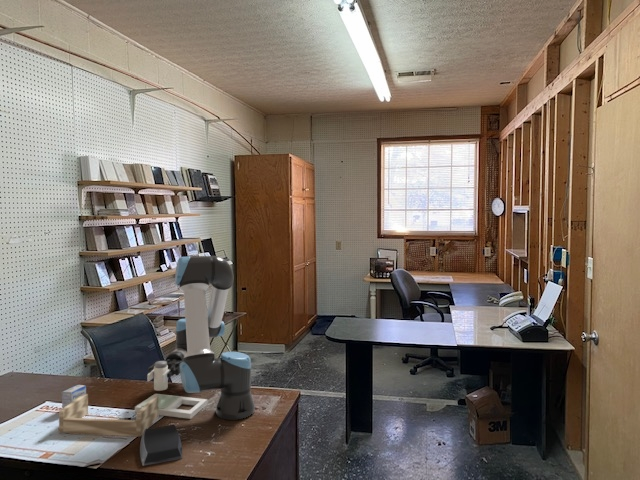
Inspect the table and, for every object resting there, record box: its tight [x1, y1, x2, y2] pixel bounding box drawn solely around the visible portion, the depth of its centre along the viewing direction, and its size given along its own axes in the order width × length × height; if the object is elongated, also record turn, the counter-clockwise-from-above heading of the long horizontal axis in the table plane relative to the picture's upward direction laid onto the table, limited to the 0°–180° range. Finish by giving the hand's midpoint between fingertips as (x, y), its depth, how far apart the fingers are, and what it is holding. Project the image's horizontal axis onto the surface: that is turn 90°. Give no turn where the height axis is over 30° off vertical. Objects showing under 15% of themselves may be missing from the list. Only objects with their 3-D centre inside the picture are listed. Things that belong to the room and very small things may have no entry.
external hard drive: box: [139, 424, 183, 467], centre depth 147 cm, size 13×19×4 cm
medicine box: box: [61, 384, 87, 409], centre depth 174 cm, size 8×4×9 cm, turn 168°
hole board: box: [134, 393, 209, 420], centre depth 177 cm, size 24×14×2 cm, turn 78°
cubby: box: [58, 393, 159, 437], centre depth 162 cm, size 16×29×8 cm, turn 88°
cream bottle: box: [153, 360, 169, 392], centre depth 178 cm, size 5×5×10 cm
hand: (155, 378), depth 173 cm, fingers closed on cream bottle, 5 cm apart
